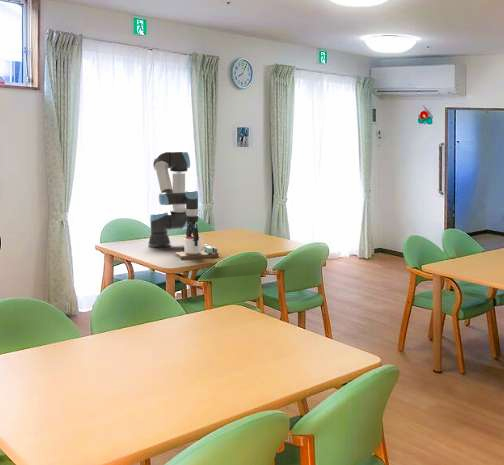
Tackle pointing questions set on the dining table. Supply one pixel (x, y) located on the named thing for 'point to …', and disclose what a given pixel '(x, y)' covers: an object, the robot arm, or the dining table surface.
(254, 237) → the dining table surface
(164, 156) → the robot arm
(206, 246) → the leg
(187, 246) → the cup
